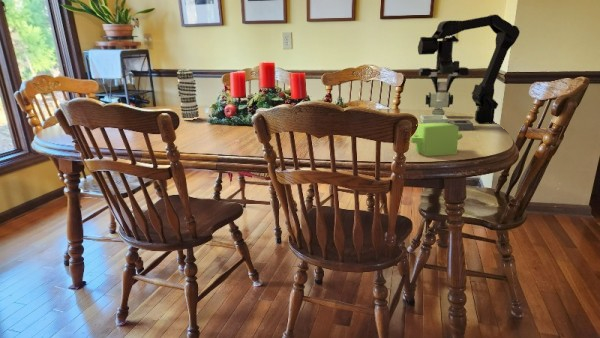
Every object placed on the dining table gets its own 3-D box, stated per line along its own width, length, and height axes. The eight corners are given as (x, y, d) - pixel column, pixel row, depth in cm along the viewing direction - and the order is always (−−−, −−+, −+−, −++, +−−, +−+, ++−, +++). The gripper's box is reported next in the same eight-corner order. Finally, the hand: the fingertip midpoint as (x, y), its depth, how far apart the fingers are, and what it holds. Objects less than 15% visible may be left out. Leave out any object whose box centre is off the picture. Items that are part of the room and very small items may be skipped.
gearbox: (455, 147, 141) (457, 120, 139) (470, 153, 132) (472, 124, 129) (404, 150, 139) (405, 122, 137) (416, 157, 130) (417, 127, 127)
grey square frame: (468, 125, 169) (468, 119, 168) (472, 130, 162) (473, 123, 161) (448, 126, 170) (448, 120, 169) (452, 130, 163) (452, 124, 162)
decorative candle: (203, 118, 211) (197, 68, 203) (187, 121, 205) (181, 70, 197) (193, 116, 217) (187, 68, 210) (178, 119, 211) (171, 69, 203)
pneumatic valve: (424, 115, 193) (426, 89, 189) (451, 115, 190) (452, 89, 186) (425, 117, 188) (426, 91, 184) (452, 118, 185) (454, 91, 181)
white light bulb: (444, 100, 172) (446, 81, 170) (446, 102, 168) (448, 82, 166) (435, 100, 172) (436, 81, 170) (437, 102, 169) (438, 82, 166)
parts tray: (444, 120, 180) (444, 114, 179) (447, 125, 172) (448, 119, 171) (420, 121, 182) (420, 115, 181) (422, 125, 173) (422, 119, 172)
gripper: (424, 55, 158) (421, 96, 163) (474, 54, 156) (470, 95, 161) (419, 54, 169) (417, 92, 174) (466, 52, 166) (463, 91, 171)
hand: (441, 93), depth 169 cm, fingers closed on white light bulb, 4 cm apart
